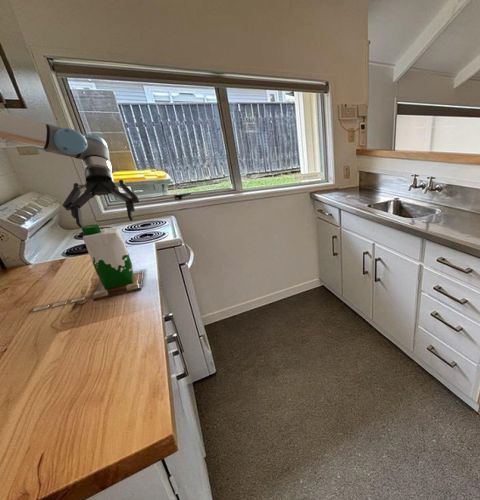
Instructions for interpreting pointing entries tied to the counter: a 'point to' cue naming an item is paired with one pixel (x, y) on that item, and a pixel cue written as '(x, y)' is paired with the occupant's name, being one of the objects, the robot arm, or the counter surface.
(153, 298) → the counter surface
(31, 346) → the counter surface
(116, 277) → the soya milk
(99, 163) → the robot arm
